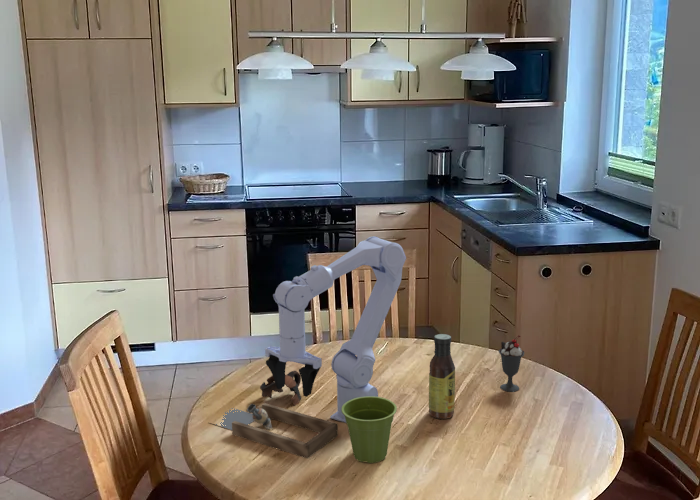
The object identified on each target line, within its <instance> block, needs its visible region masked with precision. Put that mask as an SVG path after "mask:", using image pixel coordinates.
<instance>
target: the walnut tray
mask: <svg viewBox="0 0 700 500" xmlns="http://www.w3.org/2000/svg"><path fill="white" fill-rule="evenodd" d="M261 408H262V409H264V410H265V411H266V412H267V415H268V418H270V420H275V421H279V422H282V423H285V424H289V425H293V426H295V427H298V428H302V429H306V430H309V431H312V432H315V433H318V434H316V435H315V436H313V437H312V438H311V439H310V440H308V441H306V442H304V441H301V440H298V439H295V438H291V437H288V436H284V435H282V434H279V433H275V432H272V431H269V430H266V429H263V428H259V427H257V426H256V427H255V426H252V425H250V424H249V425H246V424H243V423H240V422H237V421H234V422H232V430H231V432H232V433H231V434H233V435H232V436H235V435H236V437H239V438H242V439H246V440H249V441H251V442H254V441H255V442H254V443H257V442H258V444H260V445H263V444H264V446H266V447H270V448H273V447H274V448H273V449H276V448H277V449H276V450H279V449H280V450H281V451H282V450H283V451H282V452H285V451H286V452H287V453H288V452H289V454H291V455H296V456H298V457H302V458H304V459H309V458H310V457H312V456H313V455H314V454H316V453H317V452H318V451H319V450H320V449H322V448H323V447H325V446H326V445H327V444H329V443H330V442H331V441H333V440H334V439H335V438H336V437H338V435H339V434H338V431H339V429H338V427H339V425H338V423H337V422H333V421H329V420H326V419H322V418H319V417H315V416H311V415H308V414H304V413H302V412H297V411H294V410H290V409H287V408H284V407H280V406H276V405H273V404H268V403H266V402H264V403H262V404H261Z"/></svg>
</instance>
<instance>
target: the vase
mask: <svg viewBox="0 0 700 500" xmlns="http://www.w3.org/2000/svg"><path fill="white" fill-rule="evenodd" d="M246 412H248V413H251V414H253V415H252V417H253V420H254V422H255V423H256V424H260V425H262V426H263V427H264V428H266V429H265V430H266V431H268V429H269V430H270V429H272V428H273V425H272V423H271V422H272V421H271V418H268V415H267V412H266V411H265V410H264V409H262V407H259V408H256V404H255V403H250V404H249V405H248V406H247V408H246Z"/></svg>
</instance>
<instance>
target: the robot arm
mask: <svg viewBox="0 0 700 500" xmlns="http://www.w3.org/2000/svg"><path fill="white" fill-rule="evenodd" d="M406 261H407V256H406V253H405V250H404V248H403V247H402V245H400V244H399V243H398V242H393V241H389V240H386V239H382V238H380V237H378V236H373V235H372V236H369V237H367V238H366V239H365V240H361V241H360V242H359V243H358V244H357V246H356V247H354V248H352V249H351V250H349V251H348V252H346V253H345V254H344V255H342V256H341V257H338V258H337V259H336V260H334V261H333V262H331V263H330V264H328V265H327V266H325V265H322V264H318V265H316V264H314V265H312V266H310V270H308V271H307V272H305V273H303V274H301V275H299V276H297V275H296V276H294V277H293V279H292V280H285V281H282V282H281V283H280V284H278V285H277V287H276V289H275V292H274V293H273V294H272V297H273V300H274V301H275V303H276V304H277V306H278V323H279V324H278V326H279V328H278V329H279V346H272V345H270V346H268V347H265V349H264V350H265V353H264V354H265V357H267V358H268V359H266V360H265V364H266V366H267V368H268V369H269V371H270V372H271V374H272V375H273V377H274V380H275V381H274V382H275V384H276V387H277V389H280V388H282V389H283V388H284V387H286V385H285V375H286V368H287V367H286V366H287V362H292V363H297V364H299V365H304V366H303V367H300V368H298V373H299V374H300V376H301V386H302V394H303V395H302V396H303V397H305V398H306V397H308V396H310V395H311V394H312V391H313V387H314V383H315V380H316V377H317V375H318V373H319V371H320V369H321V368H322V366H323V365H322V364H323V363H322V358H321V357H319V356H316V355H314V354H312V353H310V352H308V351H306V320H305V319H306V318H305V315H306V314H305V309H306V308H307V307H308V305H309V303H310V301H312V299H314V298H315V297H317V296H319V295H320V294H322V293H324V292H326V291H327V290H329V289H330V288H332V287H333V285H334V283H335V280H336V279H338V278H340V277H342V276H344V275H346V274H348V273H350V272H352V271H354V270H356V269H358V268H359V267H362V266H370V268H371V269H372V271H373V273H374V275H375V279H376V281H375V283H374V286H373V288H372V290H371V293H370V295H369V296H368V299H367V302H366V305H365V307H364V309H363V311H362V313H361V315H360V318H359V320H358V323H357V324H356V327H355V330H354V331H353V334H352V336H351V338H350V339H349V340H347V341H346V342H344V343H342V345H341V346H340V348H339V350H338V351H337V352H336V354H334V355H333V357H332V360H331V363H330V364H331V370H332V371H333V372H334V374H336V390H337V391H336V392H337V393H336V394H337V395H336V397H337V399H336V400H337V401H336V402H337V403H336V405H337V408H336V409H337V411H336V412H335V413H333V414H331V415H330V419H332V420H335V421H338V422H342V423H346V419H345V415H344V414H343V413H342V410H341V409H342V406H343V404H345V403H346V402H347V401H349V400H352V399H354V398H359V397H365V396H374V397H379V391H378V388H377V387H376V386H375V385H374V386H373V385H372V384H370V383H369V382H370V381H371V380H372V379H373V374H374V365H375V362H376V358H375V354H374V351H373V347H374V345H375V344H376V340H377V339H378V336H379V334H380V331H381V329H382V326H383V325H384V322H385V320H386V318H387V315H388V313H389V310H390V308H391V305H392V303H393V301H394V299H395V296H396V294H397V292H398V289H399V287H400V286H401V282H402V277H403V276H402V275H403V268H404V265H405V262H406ZM272 375H271V376H272ZM346 424H347V423H346Z"/></svg>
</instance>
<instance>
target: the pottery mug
mask: <svg viewBox="0 0 700 500" xmlns="http://www.w3.org/2000/svg"><path fill="white" fill-rule="evenodd" d="M266 382H267V383H266ZM266 382H265V381H264V382H262V384H261V385H260V387H259V389H260V391H261V396H262V398H267V397H268V398H269V399H273V397H272V395H273V392H275V393H283V392H284V389H283V387H282V388H280V389H277V387H276V384H275V380H274V377H273V375H270V376H269V377H267V379H266ZM301 383H302V379H301V375H300V373H299V371H297V370H291V371H289V372H288V373H287V374H285V387H287V388H288V389H289V392H294V394H293V396H292V397H290V401H291V402H292V405H293V406H296V405H298V404H299V402H300V401H301V400H302V396H301V392H300V390H299V387H300V384H301Z"/></svg>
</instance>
